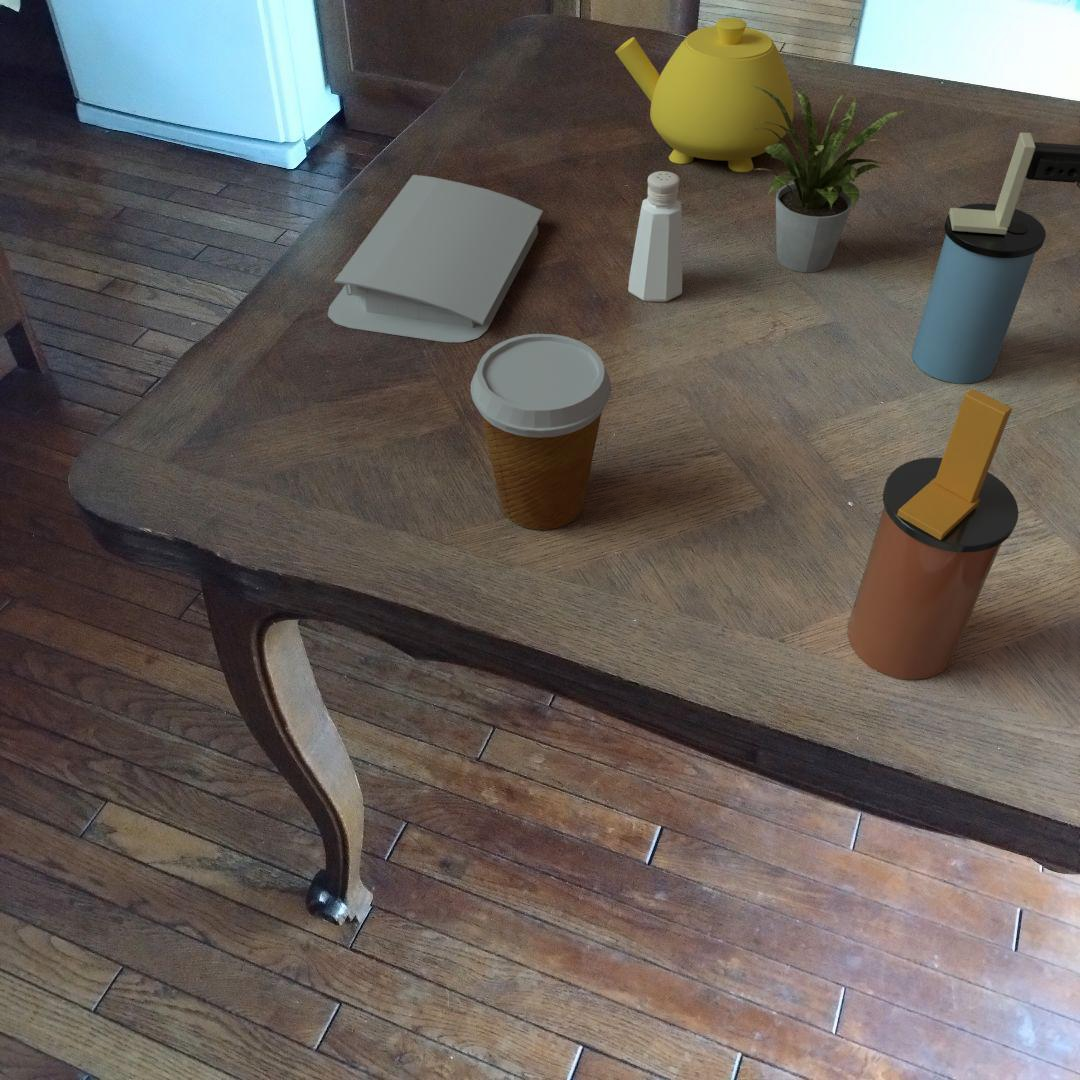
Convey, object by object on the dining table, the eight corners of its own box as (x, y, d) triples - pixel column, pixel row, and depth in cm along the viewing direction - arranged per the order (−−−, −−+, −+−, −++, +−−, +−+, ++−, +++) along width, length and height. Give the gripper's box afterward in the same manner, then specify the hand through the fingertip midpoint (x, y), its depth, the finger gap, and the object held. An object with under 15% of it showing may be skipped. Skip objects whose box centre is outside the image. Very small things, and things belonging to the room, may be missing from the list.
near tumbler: (883, 580, 73) (929, 439, 64) (980, 639, 70) (1043, 498, 61) (820, 638, 70) (859, 497, 61) (918, 703, 66) (976, 565, 57)
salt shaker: (640, 266, 102) (648, 157, 94) (693, 280, 100) (704, 170, 93) (616, 294, 99) (622, 183, 91) (670, 309, 97) (680, 197, 89)
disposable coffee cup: (457, 526, 78) (445, 395, 69) (509, 447, 84) (503, 318, 75) (579, 560, 75) (582, 429, 66) (623, 476, 81) (631, 346, 73)
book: (317, 323, 96) (310, 285, 93) (405, 202, 112) (401, 167, 109) (479, 347, 93) (476, 309, 90) (545, 220, 109) (545, 184, 106)
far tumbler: (991, 339, 93) (1038, 206, 84) (1002, 390, 88) (1053, 254, 79) (905, 331, 94) (942, 199, 85) (910, 381, 89) (951, 246, 80)
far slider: (1002, 217, 83) (1030, 131, 78) (1007, 235, 81) (1036, 148, 76) (948, 213, 84) (973, 127, 79) (952, 230, 82) (977, 144, 77)
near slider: (935, 481, 62) (968, 385, 57) (979, 504, 60) (1016, 409, 55) (896, 515, 60) (927, 420, 55) (940, 540, 58) (976, 444, 53)
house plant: (690, 267, 102) (707, 98, 90) (754, 208, 110) (777, 45, 98) (828, 313, 96) (866, 139, 85) (885, 247, 104) (927, 79, 93)
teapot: (593, 164, 117) (597, 35, 108) (630, 107, 128) (636, -15, 118) (774, 190, 113) (794, 58, 103) (797, 129, 123) (817, 3, 113)
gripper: (1275, 87, 78) (1029, 73, 80) (1337, 170, 69) (1057, 152, 71) (1229, 183, 83) (1000, 167, 86) (1280, 272, 74) (1022, 252, 77)
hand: (1026, 160), depth 78 cm, fingers closed
